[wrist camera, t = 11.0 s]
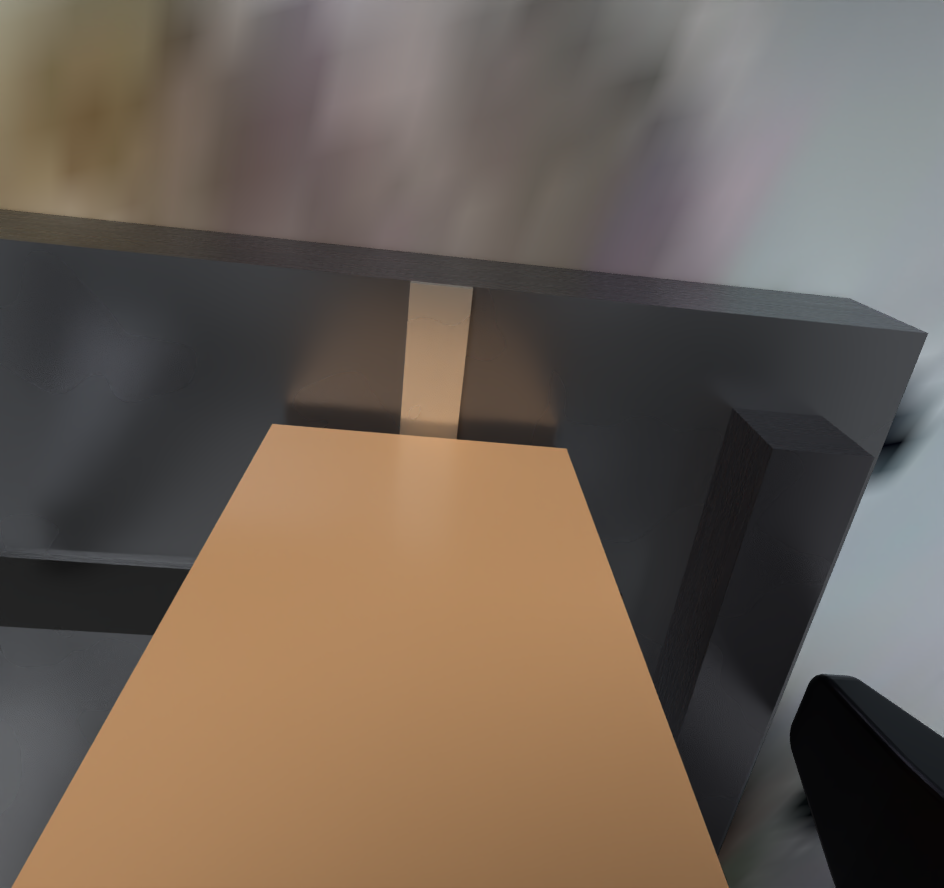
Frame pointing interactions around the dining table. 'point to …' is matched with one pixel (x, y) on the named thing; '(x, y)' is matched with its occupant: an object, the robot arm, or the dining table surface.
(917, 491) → the dining table surface
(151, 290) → the grey slider panel
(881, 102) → the dining table surface
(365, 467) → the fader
